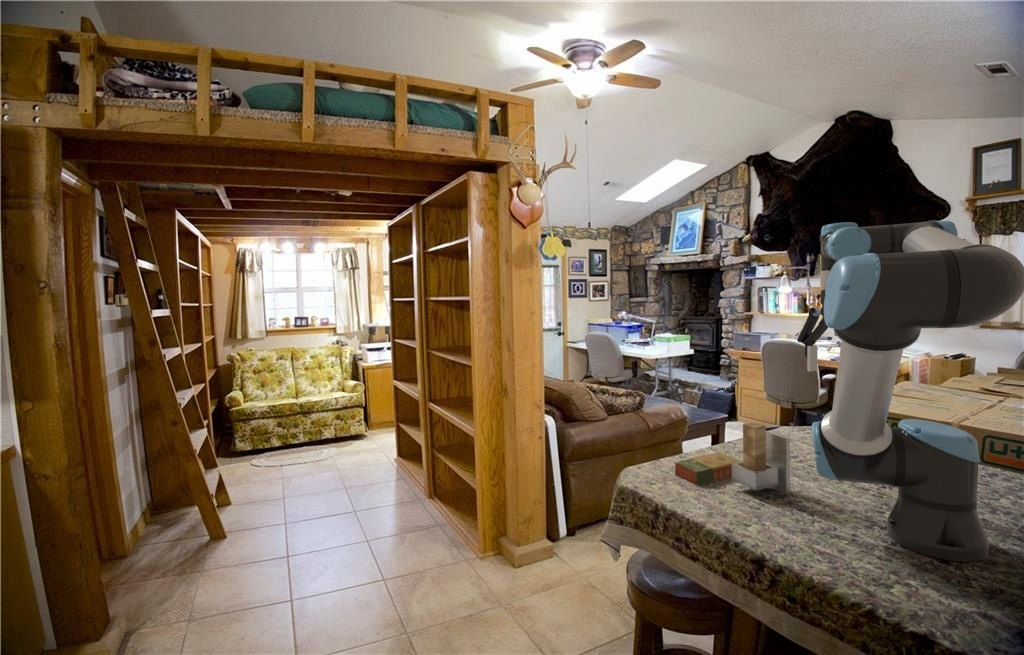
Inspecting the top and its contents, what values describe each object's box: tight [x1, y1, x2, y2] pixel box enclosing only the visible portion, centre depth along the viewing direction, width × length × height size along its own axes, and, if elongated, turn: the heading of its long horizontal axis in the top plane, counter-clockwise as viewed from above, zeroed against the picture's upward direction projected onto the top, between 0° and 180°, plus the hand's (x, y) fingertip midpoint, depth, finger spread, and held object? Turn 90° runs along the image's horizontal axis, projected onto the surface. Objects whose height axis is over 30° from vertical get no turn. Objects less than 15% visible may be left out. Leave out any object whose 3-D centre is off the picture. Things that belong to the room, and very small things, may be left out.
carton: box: [674, 452, 741, 486], centre depth 134 cm, size 8×16×4 cm, turn 112°
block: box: [742, 421, 767, 472], centre depth 122 cm, size 4×4×14 cm
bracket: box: [731, 430, 791, 495], centre depth 123 cm, size 10×10×14 cm
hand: (838, 374), depth 120 cm, fingers open, 13 cm apart
